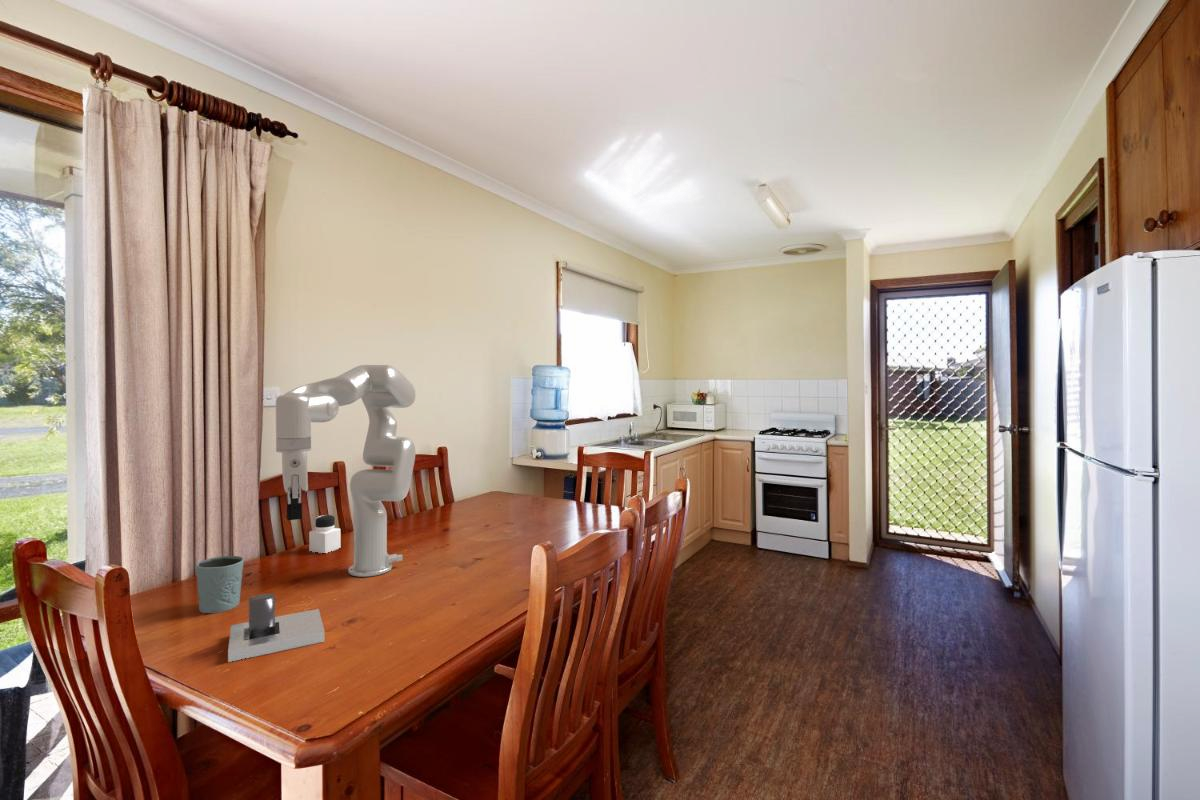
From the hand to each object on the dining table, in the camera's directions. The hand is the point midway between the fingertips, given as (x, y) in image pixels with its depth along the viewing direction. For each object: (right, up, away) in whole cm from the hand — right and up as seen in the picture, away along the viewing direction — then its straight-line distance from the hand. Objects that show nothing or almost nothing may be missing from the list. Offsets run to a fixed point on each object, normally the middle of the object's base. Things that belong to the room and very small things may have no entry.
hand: (294, 518), depth 134 cm
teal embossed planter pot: (-23, -25, +8) cm, 35 cm away
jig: (+2, -25, -10) cm, 27 cm away
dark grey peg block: (-1, -25, -11) cm, 28 cm away
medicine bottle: (-21, -24, +56) cm, 64 cm away
